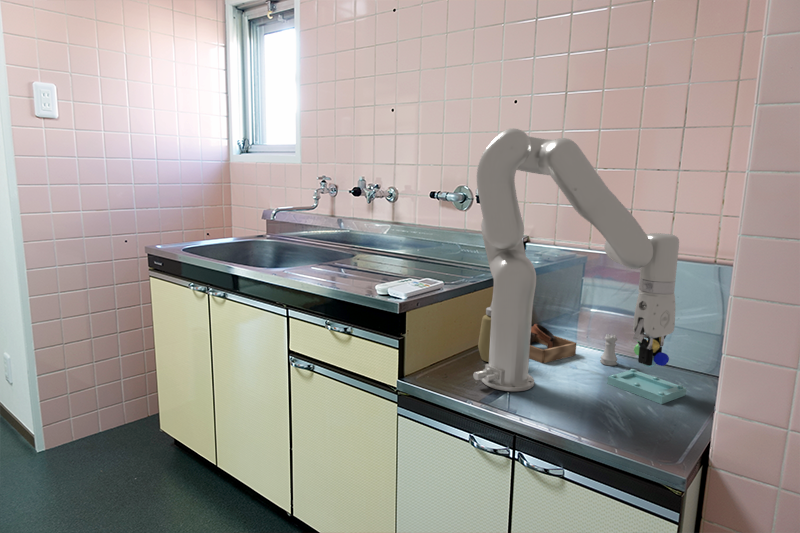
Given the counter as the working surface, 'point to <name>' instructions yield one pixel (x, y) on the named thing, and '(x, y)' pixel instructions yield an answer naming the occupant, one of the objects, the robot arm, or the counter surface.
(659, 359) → the multicolored ball cluster
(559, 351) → the tray
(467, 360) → the counter surface
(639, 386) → the baseplate
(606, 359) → the rook chess piece
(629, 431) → the counter surface
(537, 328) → the pottery mug
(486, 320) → the squeeze bottle
